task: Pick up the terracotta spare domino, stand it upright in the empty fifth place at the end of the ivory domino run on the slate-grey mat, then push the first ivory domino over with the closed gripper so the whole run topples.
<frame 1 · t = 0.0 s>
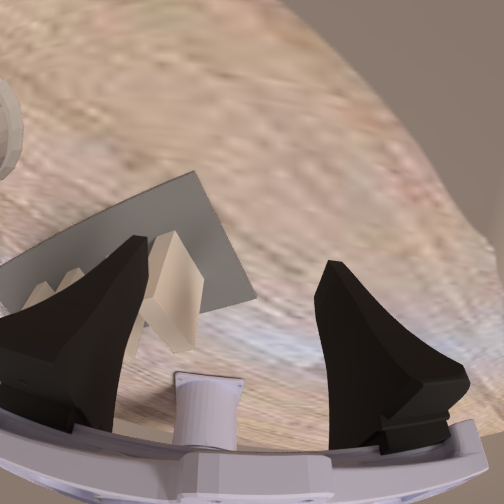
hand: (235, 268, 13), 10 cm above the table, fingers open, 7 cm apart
domino 2: (130, 275, 25), resting on slate mat
domino 1: (181, 258, 24), resting on slate mat
domino 4: (56, 301, 27), resting on slate mat
slate mat: (90, 286, 27), on the table
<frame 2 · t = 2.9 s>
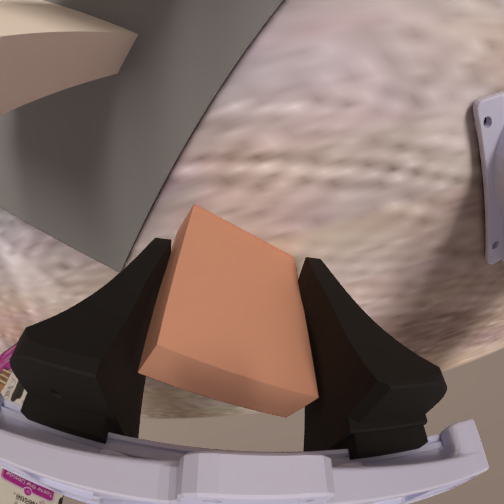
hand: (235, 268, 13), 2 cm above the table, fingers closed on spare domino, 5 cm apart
spare domino: (236, 245, 14), on the table, touching gripper
candy bar box: (43, 352, 20), on the table
domino 4: (74, 32, 8), resting on slate mat
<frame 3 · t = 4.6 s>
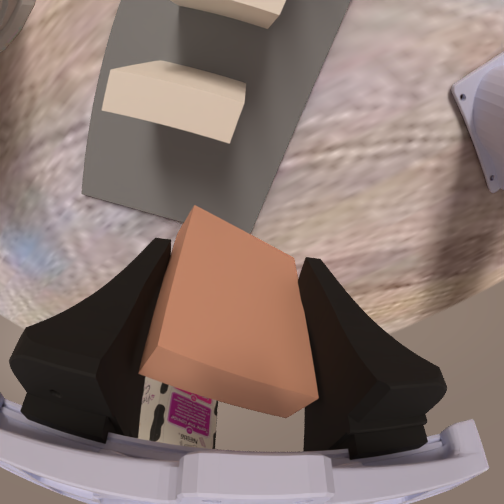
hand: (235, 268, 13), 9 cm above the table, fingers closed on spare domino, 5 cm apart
spare domino: (237, 245, 14), point 7 cm above the table, touching gripper
candy bar box: (167, 333, 29), on the table
domino 3: (228, 3, 13), resting on slate mat
domino 4: (198, 83, 16), resting on slate mat
slate mat: (228, 4, 13), on the table
when the fingers open (3 cm above the table, at t = 6.8 s): spare domino stays where it is, resting on slate mat.
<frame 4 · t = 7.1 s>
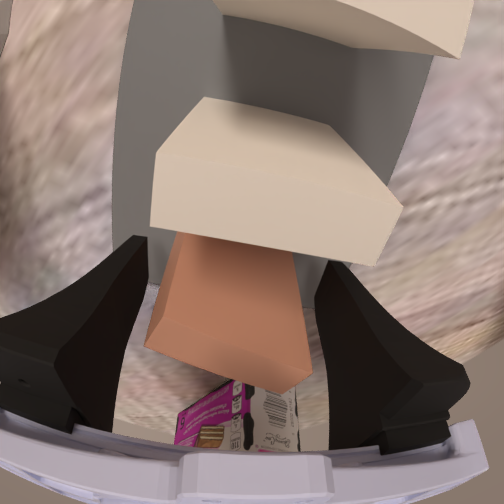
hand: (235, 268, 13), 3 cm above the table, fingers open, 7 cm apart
spare domino: (236, 233, 15), resting on slate mat
candy bar box: (229, 398, 25), on the table
domino 3: (294, 10, 9), resting on slate mat
domino 4: (263, 128, 12), resting on slate mat
slate mat: (293, 11, 9), on the table
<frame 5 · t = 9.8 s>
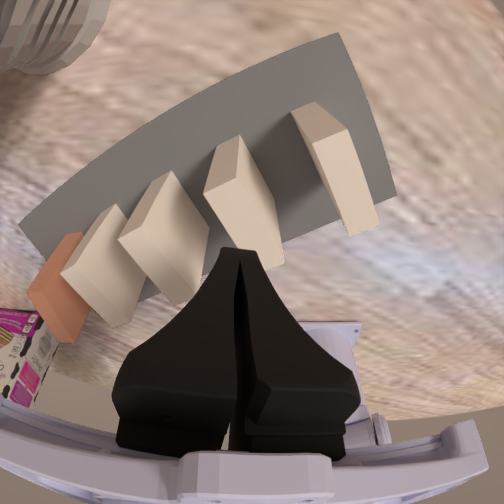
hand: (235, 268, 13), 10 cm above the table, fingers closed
spare domino: (85, 258, 24), resting on slate mat
domino 2: (246, 172, 20), resting on slate mat
candy bar box: (21, 319, 30), on the table
domino 1: (318, 141, 19), resting on slate mat
domino 3: (181, 204, 21), resting on slate mat
french press: (57, 0, 13), on the table
domino 4: (127, 233, 23), resting on slate mat
slate mat: (182, 202, 22), on the table
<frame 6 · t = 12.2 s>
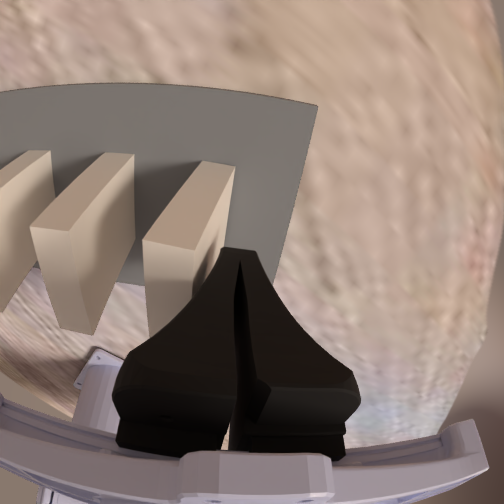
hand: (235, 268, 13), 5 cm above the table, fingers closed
domino 2: (120, 197, 16), resting on slate mat
domino 1: (213, 209, 16), point 1 cm above the table, tilted 8°, touching slate mat
domino 3: (43, 191, 15), resting on slate mat
slate mat: (47, 188, 15), on the table
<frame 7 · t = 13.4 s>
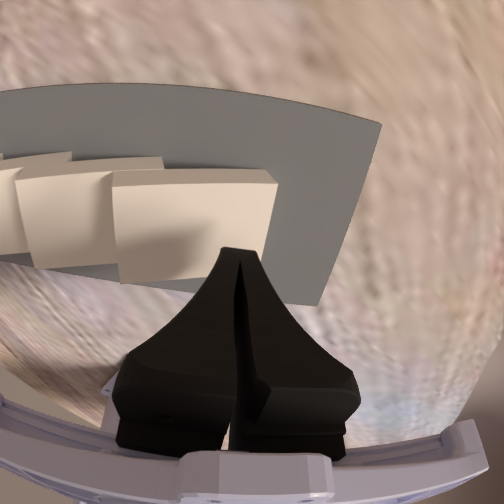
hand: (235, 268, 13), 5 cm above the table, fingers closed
domino 2: (161, 209, 15), point 1 cm above the table, tilted 71°, touching domino 1, domino 3, slate mat
domino 1: (261, 222, 16), point 1 cm above the table, tilted 71°, touching domino 2, slate mat
domino 3: (72, 200, 15), point 1 cm above the table, tilted 71°, touching domino 2, domino 4, slate mat
slate mat: (94, 191, 16), on the table
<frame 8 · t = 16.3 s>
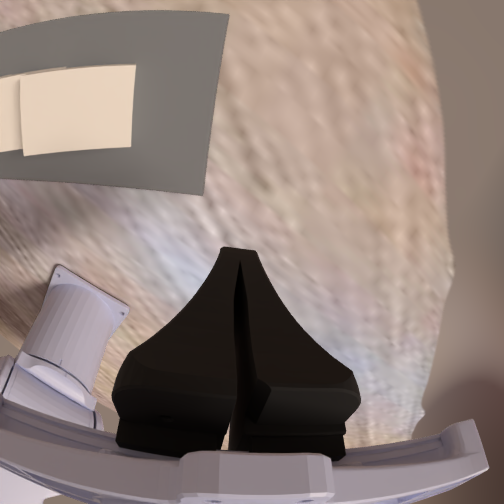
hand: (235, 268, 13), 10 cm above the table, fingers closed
domino 2: (62, 104, 16), point 1 cm above the table, tilted 71°, touching domino 1, domino 3, slate mat
domino 1: (132, 104, 17), point 1 cm above the table, tilted 71°, touching domino 2, slate mat
slate mat: (25, 103, 16), on the table
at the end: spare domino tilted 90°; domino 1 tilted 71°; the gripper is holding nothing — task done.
